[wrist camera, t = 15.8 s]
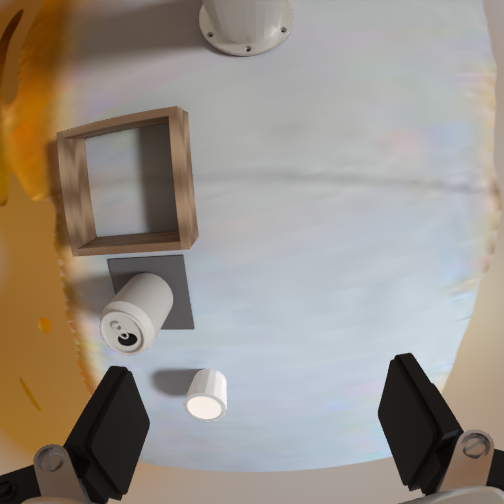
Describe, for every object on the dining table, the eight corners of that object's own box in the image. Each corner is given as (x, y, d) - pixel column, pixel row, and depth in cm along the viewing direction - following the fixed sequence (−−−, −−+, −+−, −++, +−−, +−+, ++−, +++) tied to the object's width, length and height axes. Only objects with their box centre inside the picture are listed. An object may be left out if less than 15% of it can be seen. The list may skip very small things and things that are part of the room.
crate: (79, 133, 38) (56, 132, 33) (187, 112, 38) (176, 106, 32) (92, 244, 43) (73, 256, 38) (198, 236, 43) (189, 249, 37)
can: (142, 320, 47) (114, 365, 35) (120, 279, 45) (84, 316, 33) (183, 308, 46) (161, 354, 34) (161, 263, 44) (131, 300, 32)
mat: (109, 258, 44) (108, 259, 44) (183, 254, 44) (182, 255, 43) (125, 327, 48) (124, 328, 47) (194, 328, 47) (194, 329, 47)
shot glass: (210, 359, 49) (204, 387, 42) (238, 383, 51) (235, 412, 44) (182, 377, 51) (174, 404, 44) (209, 399, 52) (204, 427, 45)
